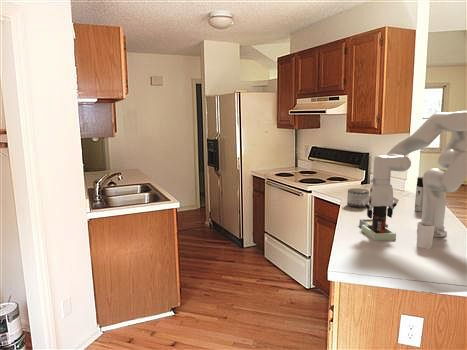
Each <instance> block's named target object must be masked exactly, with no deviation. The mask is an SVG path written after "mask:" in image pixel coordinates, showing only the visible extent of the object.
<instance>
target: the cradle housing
mask: <svg viewBox="0 0 467 350" xmlns="http://www.w3.org/2000/svg"><path fill="white" fill-rule="evenodd" d="M372 219H373V218H367V219H359V224H358V225H359V226H360V227H361V228H362V225H368V228H369V226H372V225H369V224H368V223H366V222H365V221H372ZM386 228H388V229H389V224H388V223H386ZM369 229H372V228H371V227H370V228H369Z"/></svg>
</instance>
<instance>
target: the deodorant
mask: <svg viewBox="0 0 467 350" xmlns="http://www.w3.org/2000/svg"><path fill="white" fill-rule="evenodd" d="M387 208H388V206H380V207H375V206H374V207H373V208H372V218H371V219H372V231H374V232H375V233H385V227H386V224H387Z"/></svg>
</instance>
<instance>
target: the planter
mask: <svg viewBox="0 0 467 350" xmlns="http://www.w3.org/2000/svg"><path fill="white" fill-rule="evenodd" d="M369 193H370V189H366V188H359V187H353V188H348V189H347V202H346V203H347V205H348V206H349V207H352V208H357V209H358V208H359V209H362V208H366V207H365V206H364V204H363V202H362V200H364V199H366V198H368V197H369ZM367 205H369V201H368V202H367Z"/></svg>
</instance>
